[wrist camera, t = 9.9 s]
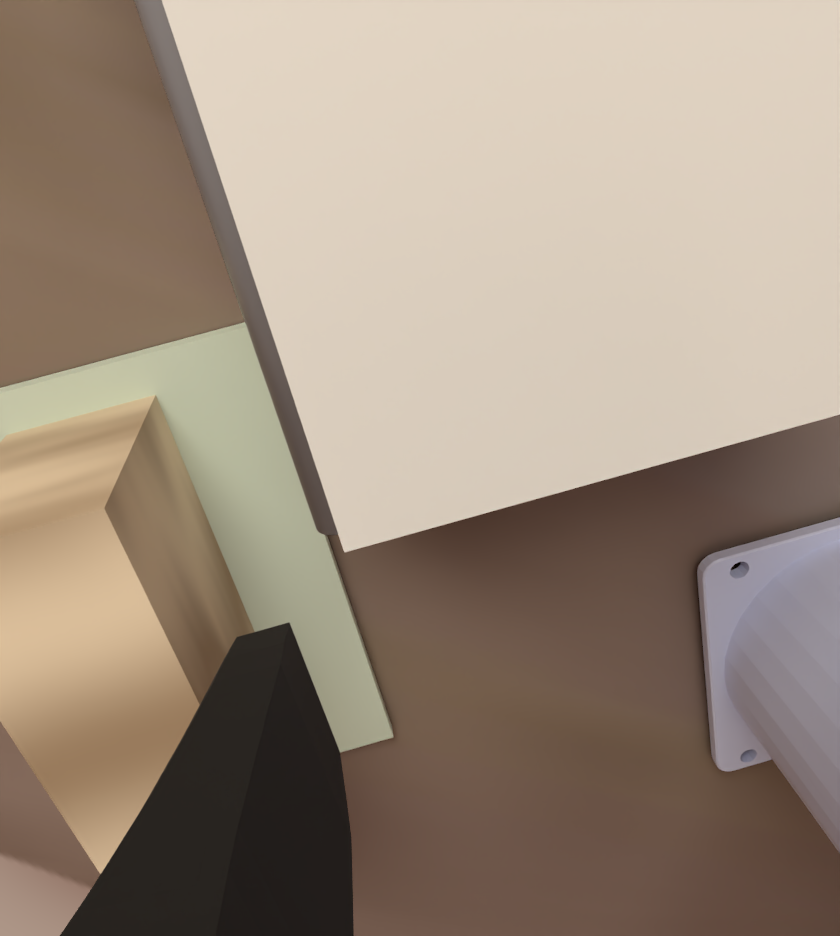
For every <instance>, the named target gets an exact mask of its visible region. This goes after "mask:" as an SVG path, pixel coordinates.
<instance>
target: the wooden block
mask: <svg viewBox="0 0 840 936" xmlns="http://www.w3.org/2000/svg"><path fill="white" fill-rule="evenodd" d="M253 632H255V631H254V629H253V627H252V624H251V622H250V619H249V617H248V615H247V612H246V610H245V607H244V605H243V603H242V600H241V598H240V596H239V593H238V591H237V588H236V586H235V584H234V581H233V579H232V576H231V574H230V572H229V569H228V567H227V564H226V562H225V560H224V557H223V555H222V552H221V550H220V548H219V545H218V543H217V540H216V538H215V536H214V533H213V531H212V528H211V526H210V524H209V521H208V519H207V516H206V514H205V512H204V509H203V507H202V505H201V502H200V500H199V497H198V495H197V493H196V490H195V488H194V485H193V483H192V481H191V478H190V476H189V473H188V471H187V469H186V466H185V464H184V461H183V459H182V457H181V454H180V452H179V449H178V447H177V445H176V442H175V440H174V437H173V435H172V433H171V430H170V428H169V425H168V423H167V421H166V418H165V416H164V414H163V411H162V409H161V406H160V404H159V402H158V399H157V397H156V395H153V396H149V397H146V398H142V399H138V400H134V401H131V402H127V403H123V404H120V405H116V406H112V407H109V408H105V409H101V410H97V411H94V412H90V413H86V414H83V415H79V416H75V417H72V418H68V419H64V420H60V421H57V422H53V423H49V424H46V425H42V426H38V427H34V428H31V429H27V430H23V431H20V432H16V433H12V434H9V435H6V436H5V437H4V439H3V440H2V441H1V442H0V721H1V723H2V724H3V726H4V727H5V729H6V730H7V732H8V734H9V735H10V737H11V738H12V740H13V741H14V743H15V744H16V746H17V747H18V749H19V750H20V752H21V753H22V755H23V756H24V758H25V759H26V761H27V763H28V764H29V766H30V767H31V769H32V770H33V772H34V773H35V775H36V776H37V778H38V779H39V781H40V782H41V784H42V785H43V787H44V789H45V790H46V792H47V793H48V795H49V796H50V798H51V799H52V801H53V802H54V804H55V805H56V807H57V808H58V810H59V811H60V813H61V814H62V816H63V818H64V819H65V821H66V822H67V824H68V825H69V827H70V828H71V830H72V831H73V833H74V834H75V836H76V837H77V839H78V840H79V842H80V844H81V845H82V847H83V848H84V850H85V851H86V853H87V854H88V856H89V857H90V859H91V860H92V862H93V863H94V865H95V866H96V868H97V870H98V871H99V873H100V874H101V873H102V871H103V870H104V868H105V867H106V865H107V863H108V862H109V860H110V859H111V857H112V856H113V854H114V852H115V851H116V849H117V848H118V846H119V844H120V843H121V841H122V840H123V838H124V836H125V835H126V833H127V832H128V830H129V828H130V827H131V825H132V824H133V822H134V820H135V819H136V817H137V816H138V814H139V812H140V811H141V809H142V807H143V806H144V804H145V802H146V801H147V799H148V797H149V795H150V794H151V792H152V790H153V788H154V787H155V785H156V783H157V781H158V780H159V778H160V776H161V774H162V773H163V771H164V769H165V767H166V765H167V764H168V762H169V760H170V758H171V757H172V755H173V753H174V751H175V750H176V748H177V746H178V744H179V743H180V741H181V739H182V737H183V735H184V733H185V732H186V730H187V728H188V726H189V724H190V722H191V720H192V719H193V717H194V715H195V713H196V711H197V709H198V707H199V706H200V704H201V702H202V700H203V698H204V696H205V694H206V692H207V690H208V689H209V687H210V685H211V683H212V681H213V679H214V677H215V675H216V673H217V671H218V669H219V668H220V666H221V664H222V662H223V660H224V658H225V656H226V655H227V653H228V651H229V649H230V647H231V646H232V644H233V642H234V641H235V639H236V637H239V636H242V635H246V634H249V633H253Z"/></svg>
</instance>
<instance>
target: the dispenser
mask: <svg viewBox="0 0 840 936" xmlns="http://www.w3.org/2000/svg"><path fill="white" fill-rule="evenodd" d="M134 2H135V5H136V8H137V10H138V13H139V16H140V19H141V22H142V25H143V28H144V31H145V34H146V37H147V39H148V42H149V45H150V48H151V51H152V54H153V57H154V60H155V63H156V66H157V68H158V71H159V74H160V77H161V80H162V83H163V86H164V89H165V92H166V95H167V97H168V100H169V103H170V106H171V109H172V112H173V115H174V118H175V121H176V124H177V126H178V129H179V132H180V135H181V138H182V141H183V144H184V147H185V150H186V153H187V155H188V158H189V161H190V164H191V167H192V170H193V173H194V176H195V179H196V182H197V184H198V187H199V190H200V193H201V196H202V199H203V202H204V205H205V208H206V211H207V213H208V216H209V219H210V222H211V225H212V228H213V231H214V234H215V237H216V240H217V242H218V245H219V248H220V251H221V254H222V257H223V260H224V263H225V266H226V269H227V271H228V274H229V277H230V280H231V283H232V286H233V289H234V292H235V295H236V298H237V300H238V303H239V306H240V309H241V312H242V315H243V318H244V321H245V324H246V327H247V329H248V332H249V335H250V338H251V341H252V344H253V347H254V350H255V353H256V356H257V358H258V361H259V364H260V367H261V370H262V373H263V376H264V379H265V382H266V384H267V387H268V390H269V393H270V396H271V399H272V402H273V405H274V408H275V411H276V413H277V416H278V419H279V422H280V425H281V428H282V431H283V434H284V437H285V440H286V442H287V445H288V448H289V451H290V454H291V457H292V460H293V463H294V466H295V469H296V471H297V474H298V477H299V480H300V483H301V486H302V489H303V492H304V495H305V498H306V500H307V503H308V506H309V509H310V512H311V515H312V518H313V521H314V524H315V527H316V529H317V531H318V532H319V533H321V534H324V535H337V534H338V535H339V538H340V541H341V544H342V547H343V550H344V552H348V551H352V550H355V549H359V548H362V547H366V546H369V545H373V544H377V543H380V542H384V541H387V540H391V539H395V538H398V537H402V536H405V535H409V534H413V533H416V532H420V531H423V530H427V529H431V528H434V527H438V526H441V525H445V524H448V523H452V522H456V521H459V520H463V519H466V518H470V517H474V516H477V515H481V514H484V513H488V512H492V511H495V510H499V509H502V508H506V507H509V506H513V505H517V504H520V503H524V502H527V501H531V500H535V499H538V498H542V497H545V496H549V495H553V494H556V493H560V492H563V491H567V490H570V489H574V488H578V487H581V486H585V485H588V484H592V483H596V482H599V481H603V480H606V479H610V478H614V477H617V476H621V475H624V474H628V473H632V472H635V471H639V470H642V469H646V468H649V467H653V466H657V465H660V464H664V463H667V462H671V461H675V460H678V459H682V458H685V457H689V456H693V455H696V454H700V453H703V452H707V451H710V450H714V449H718V448H721V447H725V446H728V445H732V444H736V443H739V442H743V441H746V440H750V439H754V438H757V437H761V436H764V435H768V434H771V433H775V432H779V431H782V430H786V429H789V428H793V427H797V426H800V425H804V424H807V423H811V422H815V421H818V420H822V419H825V418H829V417H832V416H836V415H840V0H134Z"/></svg>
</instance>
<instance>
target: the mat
mask: <svg viewBox="0 0 840 936" xmlns="http://www.w3.org/2000/svg"><path fill="white" fill-rule="evenodd" d="M153 395H156V397H157V399H158V402H159V404H160V406H161V409H162V411H163V414H164V416H165V418H166V421H167V423H168V425H169V428H170V430H171V433H172V435H173V437H174V440H175V442H176V445H177V447H178V449H179V452H180V454H181V457H182V459H183V461H184V464H185V466H186V469H187V471H188V473H189V476H190V478H191V481H192V483H193V485H194V488H195V490H196V493H197V495H198V497H199V500H200V502H201V505H202V507H203V509H204V512H205V514H206V516H207V519H208V521H209V524H210V526H211V528H212V531H213V533H214V536H215V538H216V540H217V543H218V545H219V548H220V550H221V552H222V555H223V557H224V560H225V562H226V564H227V567H228V569H229V572H230V574H231V576H232V579H233V581H234V584H235V586H236V588H237V591H238V593H239V596H240V598H241V600H242V603H243V605H244V607H245V610H246V612H247V615H248V617H249V619H250V622H251V624H252V627H253V629H254V631H255V632H257V631H260V630H264V629H267V628H271V627H274V626H278V625H282V624H285V623H289V622H290V625H291V628H292V630H293V633H294V635H295V638H296V640H297V643H298V646H299V648H300V651H301V653H302V656H303V658H304V661H305V664H306V666H307V669H308V671H309V674H310V676H311V679H312V682H313V684H314V687H315V689H316V692H317V694H318V697H319V699H320V702H321V705H322V707H323V710H324V712H325V715H326V717H327V720H328V723H329V725H330V728H331V730H332V733H333V735H334V738H335V741H336V743H337V746H338V748H339V751H340V752H344V751H347V750H351V749H354V748H358V747H361V746H365V745H368V744H372V743H375V742H379V741H382V740H386V739H389V738H393V730H392V725H391V722H390V719H389V717H388V714H387V711H386V708H385V705H384V702H383V699H382V696H381V693H380V690H379V687H378V684H377V681H376V678H375V675H374V672H373V669H372V666H371V663H370V660H369V657H368V655H367V652H366V649H365V646H364V643H363V640H362V637H361V634H360V631H359V628H358V625H357V622H356V619H355V616H354V613H353V610H352V607H351V604H350V601H349V598H348V596H347V593H346V590H345V587H344V584H343V581H342V578H341V575H340V572H339V569H338V566H337V563H336V560H335V557H334V554H333V551H332V548H331V545H330V542H329V539H328V536H327V535H324V534H321V533H319V532H318V531H317V529H316V527H315V524H314V521H313V518H312V515H311V512H310V509H309V506H308V503H307V500H306V498H305V495H304V492H303V489H302V486H301V483H300V480H299V477H298V474H297V471H296V469H295V466H294V463H293V460H292V457H291V454H290V451H289V448H288V445H287V442H286V440H285V437H284V434H283V431H282V428H281V425H280V422H279V419H278V416H277V413H276V411H275V408H274V405H273V402H272V399H271V396H270V393H269V390H268V387H267V384H266V382H265V379H264V376H263V373H262V370H261V367H260V364H259V361H258V358H257V356H256V353H255V350H254V347H253V344H252V341H251V338H250V335H249V332H248V329H247V327H246V324H245V322H244V323H240V324H237V325H233V326H229V327H226V328H222V329H218V330H214V331H211V332H207V333H203V334H199V335H196V336H192V337H188V338H185V339H181V340H177V341H173V342H170V343H166V344H162V345H159V346H155V347H151V348H147V349H144V350H140V351H136V352H133V353H129V354H125V355H121V356H118V357H114V358H110V359H107V360H103V361H99V362H95V363H92V364H88V365H84V366H81V367H77V368H73V369H69V370H66V371H62V372H58V373H54V374H51V375H47V376H43V377H40V378H36V379H32V380H28V381H25V382H21V383H17V384H14V385H10V386H6V387H2V388H0V442H1V441H2V440H3V439H4V437H5V436H6V435H9V434H12V433H16V432H20V431H23V430H27V429H31V428H34V427H38V426H42V425H46V424H49V423H53V422H57V421H60V420H64V419H68V418H72V417H75V416H79V415H83V414H86V413H90V412H94V411H97V410H101V409H105V408H109V407H112V406H116V405H120V404H123V403H127V402H131V401H134V400H138V399H142V398H146V397H149V396H153Z"/></svg>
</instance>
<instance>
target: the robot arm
mask: <svg viewBox="0 0 840 936" xmlns="http://www.w3.org/2000/svg"><path fill="white" fill-rule="evenodd" d="M738 562H741V564H740V565H739V566H738V567H737V568H736V569H734V570H731V568H732V567H733V565H734V564H736V563H738ZM697 579H698V591H699V604H700V616H701V629H702V641H703V654H704V666H705V679H706V692H707V704H708V717H709V729H710V742H711V754H712V758H713V761H714V762H715V764H716V766H717V767H718V768H719V769H720V770H722V771H734V770H738V769H741V768H745V767H748V766H752V765H755V764H758V763H762V762H765V761H769V760H773V761H774V763H775V764H776V765H777V767H778V768H779V770H780V771H781V772H782V774H783V775H784V777H785V778H786V779H787V781H788V782H789V783H790V785H791V786H792V788H793V789H794V790H795V792H796V793H797V795H798V796H799V797H800V799H801V800H802V802H803V803H804V804H805V806H806V807H807V809H808V810H809V811H810V813H811V814H812V816H813V817H814V818H815V820H816V821H817V823H818V824H819V825H820V827H821V828H822V829H823V831H824V832H825V834H826V835H827V836H828V838H829V839H830V841H831V842H832V843H833V845H834V846H835V848H836V849H837V850H838V852H839V853H840V517H839V518H835V519H832V520H828V521H825V522H821V523H818V524H814V525H811V526H807V527H804V528H800V529H796V530H793V531H789V532H786V533H782V534H779V535H775V536H772V537H768V538H765V539H761V540H758V541H754V542H750V543H747V544H743V545H740V546H736V547H733V548H729V549H726V550H722V551H719V552H715V553H712V554H710V555H708V556H706V557H705V558H704V559H703V560H702V561H701V563H700V564H699V566H698V570H697ZM60 936H354V935H353V888H352V849H351V832H350V824H349V816H348V808H347V800H346V793H345V786H344V779H343V772H342V765H341V757H340V751H339V748H338V746H337V743H336V741H335V738H334V735H333V733H332V730H331V728H330V725H329V723H328V720H327V717H326V715H325V712H324V710H323V707H322V705H321V702H320V699H319V697H318V694H317V692H316V689H315V687H314V684H313V682H312V679H311V676H310V674H309V671H308V669H307V666H306V664H305V661H304V658H303V656H302V653H301V651H300V648H299V646H298V643H297V640H296V638H295V635H294V633H293V630H292V628H291V625H290V622H289V623H285V624H282V625H278V626H274V627H271V628H267V629H264V630H260V631H257V632H253V633H249V634H246V635H242V636H239V637H236V639H235V641H234V642H233V644H232V646H231V647H230V649H229V651H228V653H227V655H226V656H225V658H224V660H223V662H222V664H221V666H220V668H219V669H218V671H217V673H216V675H215V677H214V679H213V681H212V683H211V685H210V687H209V689H208V690H207V692H206V694H205V696H204V698H203V700H202V702H201V704H200V706H199V707H198V709H197V711H196V713H195V715H194V717H193V719H192V720H191V722H190V724H189V726H188V728H187V730H186V732H185V733H184V735H183V737H182V739H181V741H180V743H179V744H178V746H177V748H176V750H175V751H174V753H173V755H172V757H171V758H170V760H169V762H168V764H167V765H166V767H165V769H164V771H163V773H162V774H161V776H160V778H159V780H158V781H157V783H156V785H155V787H154V788H153V790H152V792H151V794H150V795H149V797H148V799H147V801H146V802H145V804H144V806H143V807H142V809H141V811H140V812H139V814H138V816H137V817H136V819H135V820H134V822H133V824H132V825H131V827H130V828H129V830H128V832H127V833H126V835H125V836H124V838H123V840H122V841H121V843H120V844H119V846H118V848H117V849H116V851H115V852H114V854H113V856H112V857H111V859H110V860H109V862H108V863H107V865H106V867H105V868H104V870H103V871H102V873H101V875H100V876H99V878H98V879H97V881H96V883H95V884H94V886H93V887H92V889H91V890H90V892H89V894H88V895H87V897H86V898H85V900H84V901H83V903H82V904H81V906H80V907H79V908H78V910H77V912H76V913H75V915H74V916H73V917H72V919H71V920H70V922H69V923H68V925H67V926H66V928H65V929H64V931H63V932H62V934H61V935H60Z"/></svg>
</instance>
